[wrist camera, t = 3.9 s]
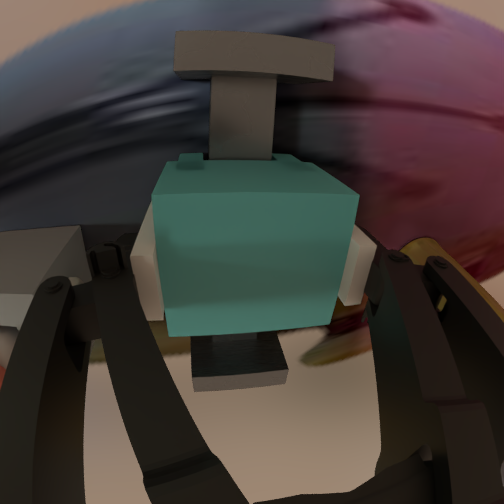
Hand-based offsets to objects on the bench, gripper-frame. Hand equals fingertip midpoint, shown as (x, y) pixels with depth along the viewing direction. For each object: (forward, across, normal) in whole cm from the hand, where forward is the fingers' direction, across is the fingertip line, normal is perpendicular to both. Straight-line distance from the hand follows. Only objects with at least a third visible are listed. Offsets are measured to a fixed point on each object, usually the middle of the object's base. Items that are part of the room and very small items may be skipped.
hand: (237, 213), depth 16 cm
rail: (+2, 0, -1) cm, 2 cm away
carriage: (+2, 0, 0) cm, 2 cm away
